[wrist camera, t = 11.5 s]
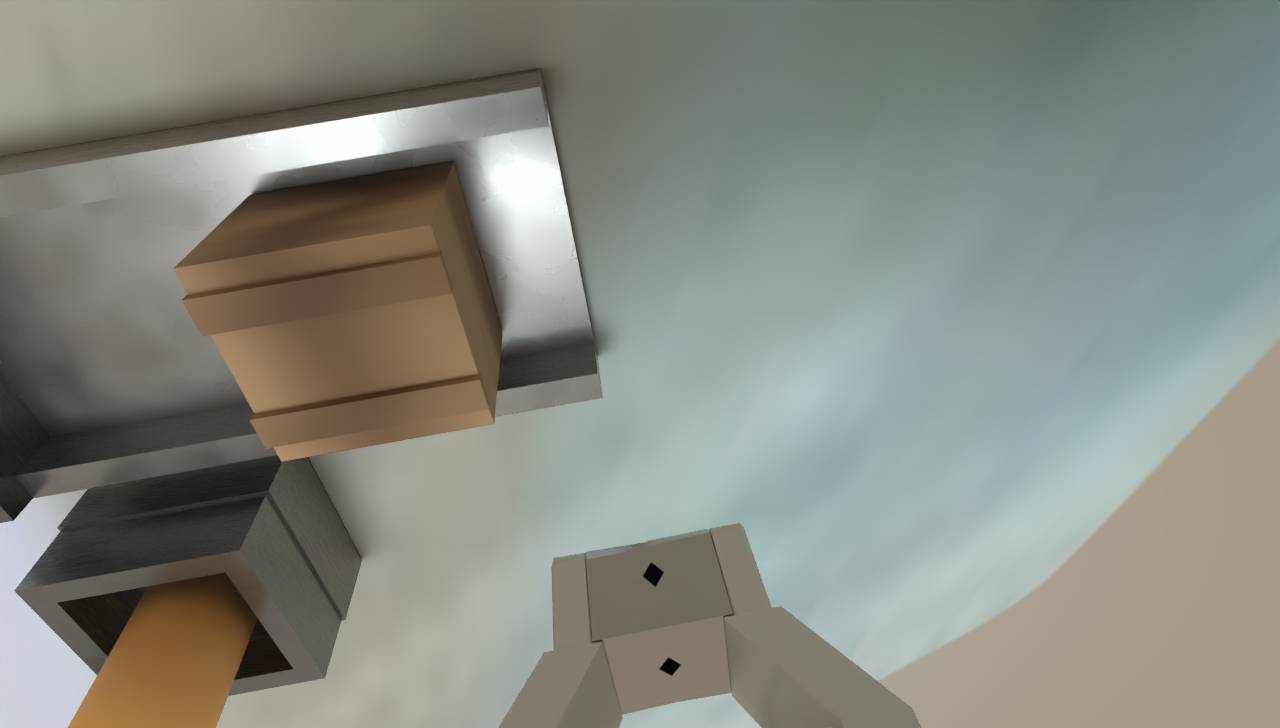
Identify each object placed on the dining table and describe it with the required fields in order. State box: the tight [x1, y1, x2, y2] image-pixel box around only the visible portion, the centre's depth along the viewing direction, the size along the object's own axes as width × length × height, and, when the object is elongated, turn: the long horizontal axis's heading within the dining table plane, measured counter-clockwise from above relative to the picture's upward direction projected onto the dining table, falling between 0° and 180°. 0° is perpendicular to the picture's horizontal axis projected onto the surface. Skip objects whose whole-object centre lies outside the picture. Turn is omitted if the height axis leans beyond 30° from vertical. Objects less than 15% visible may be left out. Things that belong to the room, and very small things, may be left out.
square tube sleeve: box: [15, 455, 362, 696], centre depth 25 cm, size 7×7×6 cm
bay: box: [0, 69, 603, 523], centre depth 21 cm, size 20×10×4 cm, turn 98°
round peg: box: [68, 572, 258, 728], centre depth 21 cm, size 4×4×9 cm
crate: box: [173, 161, 503, 462], centre depth 20 cm, size 6×6×5 cm
